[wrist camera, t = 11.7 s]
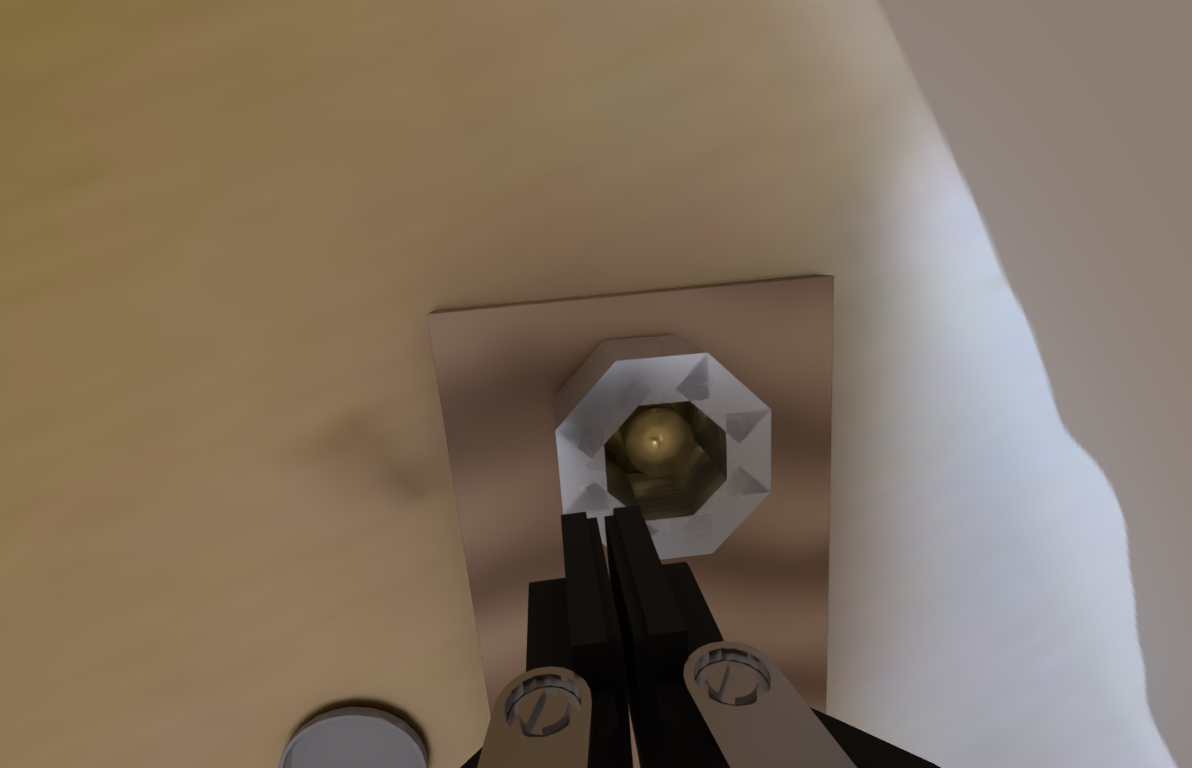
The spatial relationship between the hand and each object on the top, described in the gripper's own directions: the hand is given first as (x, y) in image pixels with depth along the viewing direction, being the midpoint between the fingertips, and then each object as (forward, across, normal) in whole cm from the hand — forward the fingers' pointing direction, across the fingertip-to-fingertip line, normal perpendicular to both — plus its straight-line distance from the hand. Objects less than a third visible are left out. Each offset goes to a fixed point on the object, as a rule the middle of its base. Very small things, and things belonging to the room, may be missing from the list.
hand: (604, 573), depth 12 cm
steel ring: (+10, -3, 0) cm, 11 cm away
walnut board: (+12, -3, +7) cm, 15 cm away
